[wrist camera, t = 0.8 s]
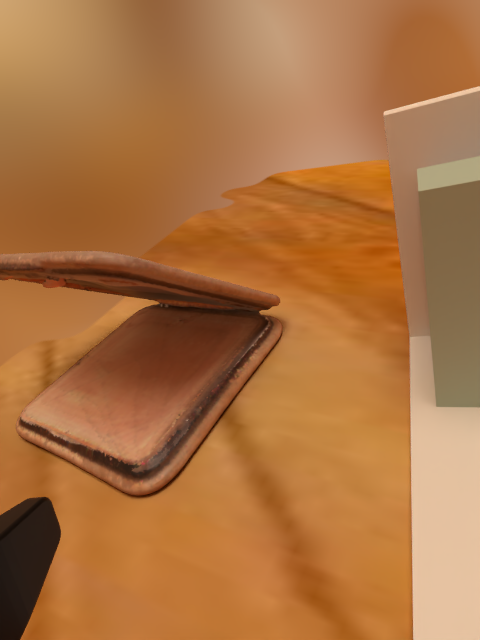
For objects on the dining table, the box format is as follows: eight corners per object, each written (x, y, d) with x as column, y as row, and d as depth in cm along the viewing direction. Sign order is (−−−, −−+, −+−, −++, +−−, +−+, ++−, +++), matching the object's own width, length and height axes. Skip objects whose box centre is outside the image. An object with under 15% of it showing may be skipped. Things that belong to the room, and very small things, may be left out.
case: (298, 322, 40) (249, 153, 32) (156, 514, 28) (12, 317, 19) (155, 307, 53) (93, 183, 44) (11, 435, 40) (-114, 295, 32)
